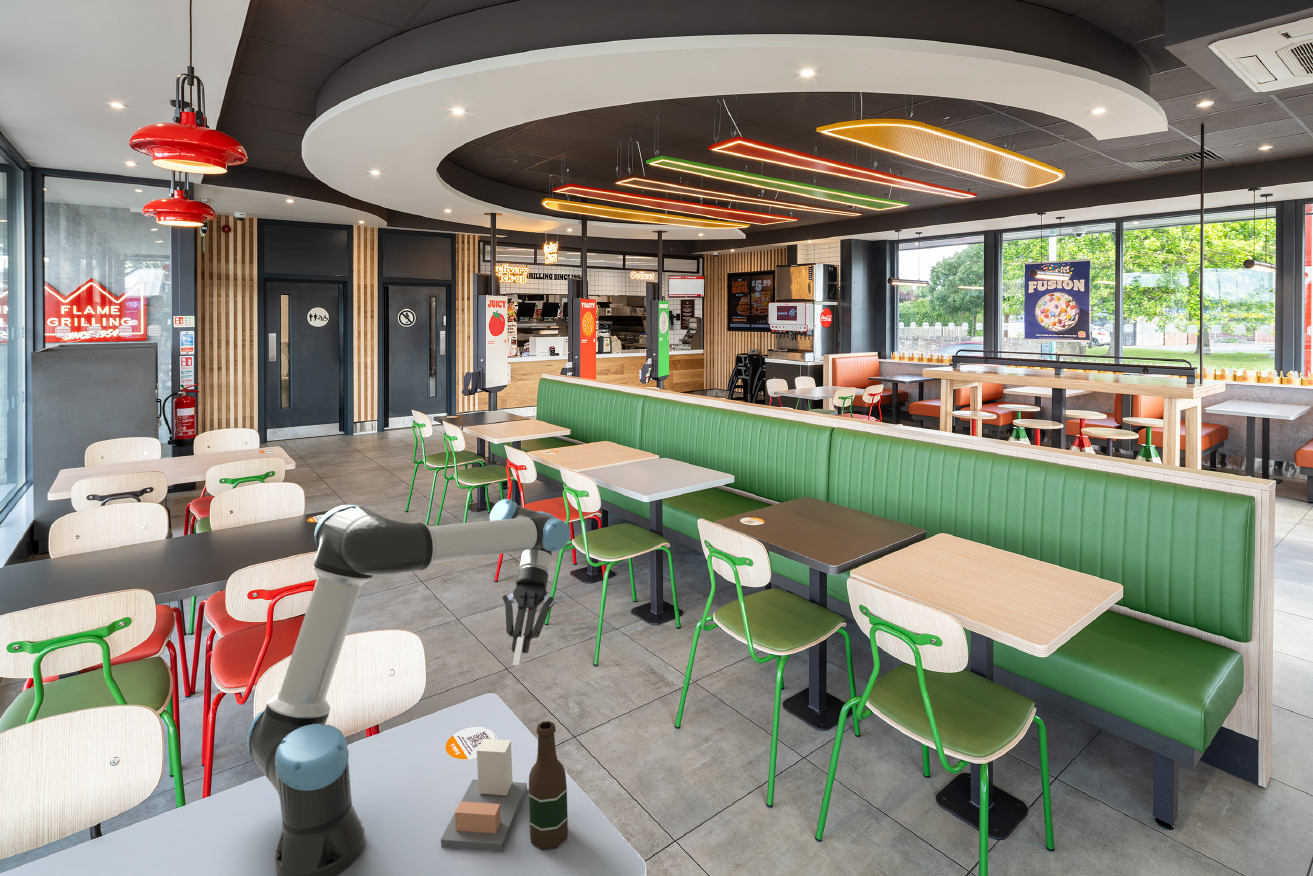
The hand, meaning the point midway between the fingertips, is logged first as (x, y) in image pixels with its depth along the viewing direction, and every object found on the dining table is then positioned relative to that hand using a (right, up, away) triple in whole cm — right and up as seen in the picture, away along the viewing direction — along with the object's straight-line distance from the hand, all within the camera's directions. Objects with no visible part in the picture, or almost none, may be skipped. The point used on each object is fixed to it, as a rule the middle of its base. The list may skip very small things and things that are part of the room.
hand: (517, 666), depth 154 cm
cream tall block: (-2, -21, -13) cm, 25 cm away
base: (-2, -24, -19) cm, 31 cm away
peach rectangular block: (-3, -23, -23) cm, 33 cm away
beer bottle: (+11, -25, -24) cm, 36 cm away
